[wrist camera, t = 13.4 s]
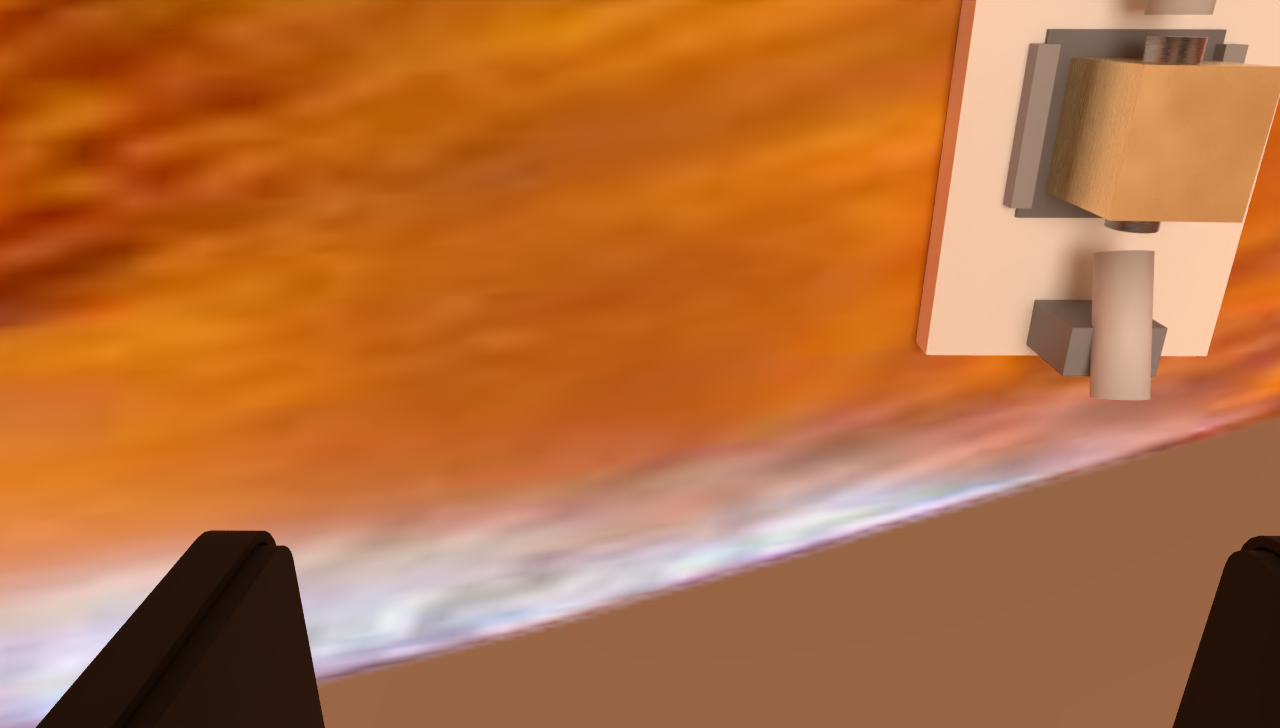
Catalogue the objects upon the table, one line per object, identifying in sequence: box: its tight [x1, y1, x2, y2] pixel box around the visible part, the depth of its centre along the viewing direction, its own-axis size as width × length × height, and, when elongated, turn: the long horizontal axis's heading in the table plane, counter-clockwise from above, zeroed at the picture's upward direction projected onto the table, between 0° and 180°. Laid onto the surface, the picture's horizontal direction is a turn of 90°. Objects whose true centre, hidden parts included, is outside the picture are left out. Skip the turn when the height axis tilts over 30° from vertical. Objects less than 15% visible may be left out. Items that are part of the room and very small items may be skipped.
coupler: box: [1045, 36, 1280, 234], centre depth 30 cm, size 7×4×5 cm
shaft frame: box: [916, 0, 1280, 400], centre depth 31 cm, size 19×12×7 cm, turn 0°
